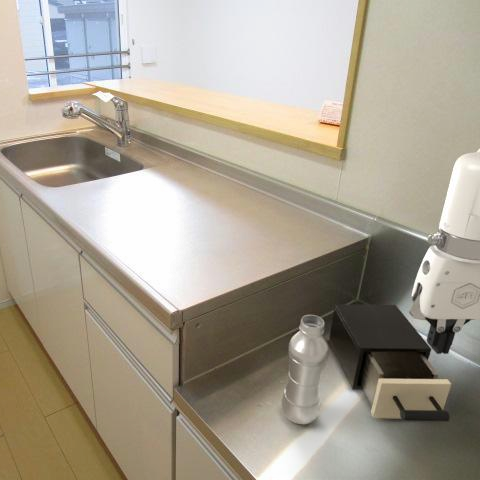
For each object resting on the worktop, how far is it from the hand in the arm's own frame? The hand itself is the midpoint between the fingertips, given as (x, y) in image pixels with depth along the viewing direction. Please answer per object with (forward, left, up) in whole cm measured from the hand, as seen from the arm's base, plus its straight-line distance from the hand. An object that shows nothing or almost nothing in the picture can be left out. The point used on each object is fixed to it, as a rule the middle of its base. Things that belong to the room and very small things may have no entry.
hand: (437, 348), depth 71 cm
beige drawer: (+1, -5, -15) cm, 16 cm away
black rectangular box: (+1, -16, -16) cm, 23 cm away
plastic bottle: (+19, -2, -17) cm, 25 cm away
